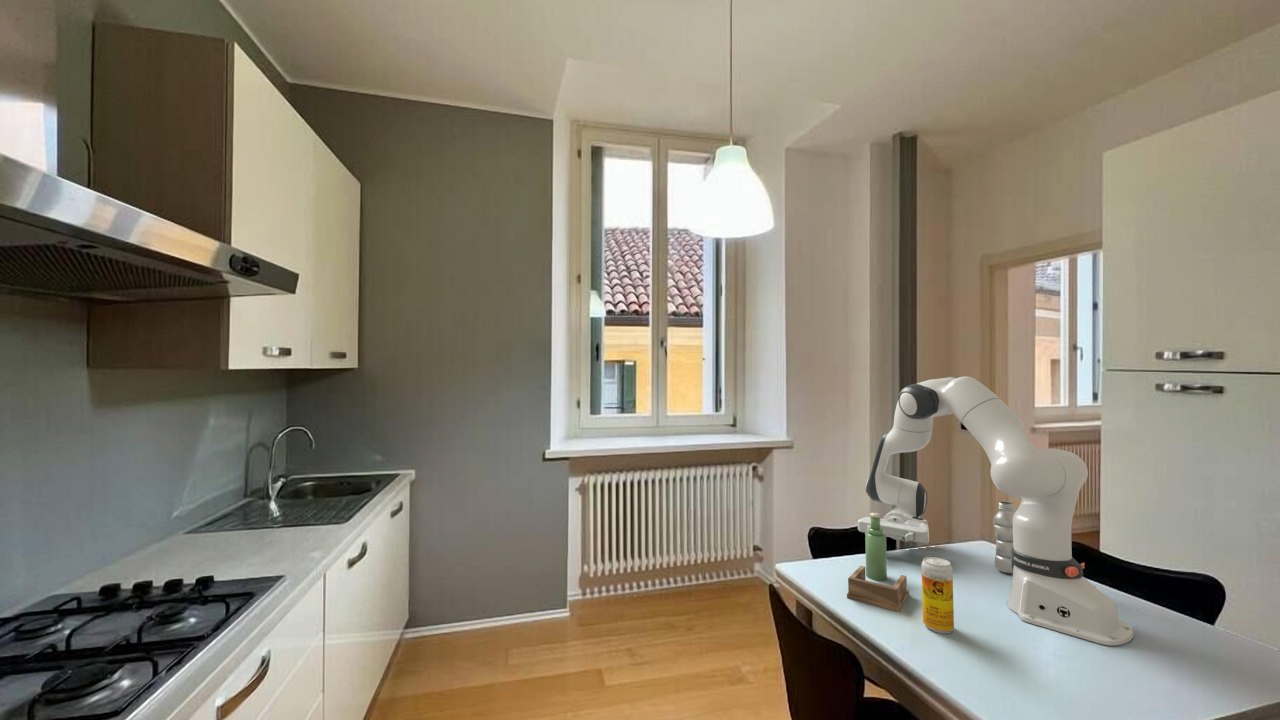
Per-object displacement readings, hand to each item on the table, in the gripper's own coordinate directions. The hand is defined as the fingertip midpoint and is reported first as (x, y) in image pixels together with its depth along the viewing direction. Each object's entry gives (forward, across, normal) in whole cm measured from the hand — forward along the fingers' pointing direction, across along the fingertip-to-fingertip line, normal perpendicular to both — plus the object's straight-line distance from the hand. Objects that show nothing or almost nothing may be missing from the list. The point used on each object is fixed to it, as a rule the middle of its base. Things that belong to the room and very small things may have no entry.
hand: (886, 535), depth 151 cm
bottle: (+12, 0, +9) cm, 15 cm away
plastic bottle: (-15, +29, +9) cm, 34 cm away
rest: (+25, +4, +9) cm, 27 cm away
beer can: (+34, +19, +9) cm, 40 cm away
